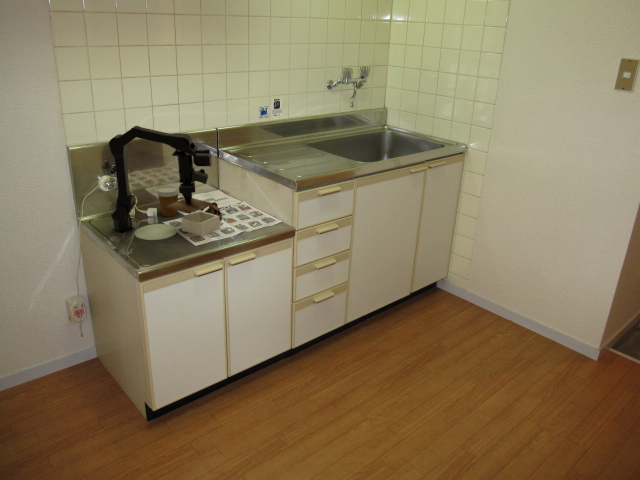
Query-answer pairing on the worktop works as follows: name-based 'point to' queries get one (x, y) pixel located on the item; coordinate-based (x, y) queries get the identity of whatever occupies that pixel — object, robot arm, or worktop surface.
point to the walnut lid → (189, 205)
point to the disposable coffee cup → (167, 199)
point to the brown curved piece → (213, 210)
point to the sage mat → (155, 231)
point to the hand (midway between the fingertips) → (188, 202)
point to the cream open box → (200, 223)
